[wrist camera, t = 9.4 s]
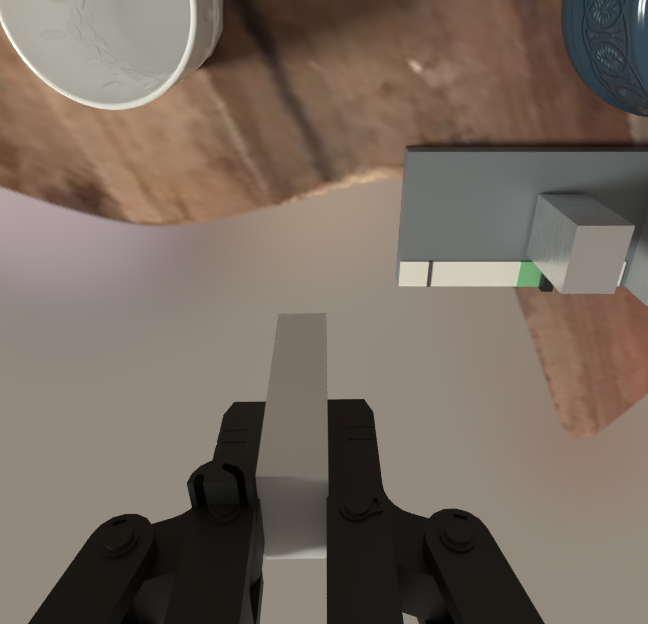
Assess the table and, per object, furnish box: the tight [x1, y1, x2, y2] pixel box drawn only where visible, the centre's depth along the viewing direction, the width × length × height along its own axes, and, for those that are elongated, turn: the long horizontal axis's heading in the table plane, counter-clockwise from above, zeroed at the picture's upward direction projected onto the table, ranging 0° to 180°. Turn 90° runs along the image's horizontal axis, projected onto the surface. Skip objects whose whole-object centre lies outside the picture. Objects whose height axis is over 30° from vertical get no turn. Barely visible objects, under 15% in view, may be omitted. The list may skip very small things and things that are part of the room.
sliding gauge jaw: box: [526, 194, 635, 294], centre depth 31 cm, size 3×6×6 cm, turn 0°
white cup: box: [0, 0, 223, 110], centre depth 24 cm, size 8×8×10 cm
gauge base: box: [396, 147, 648, 306], centre depth 31 cm, size 18×9×8 cm, turn 90°
